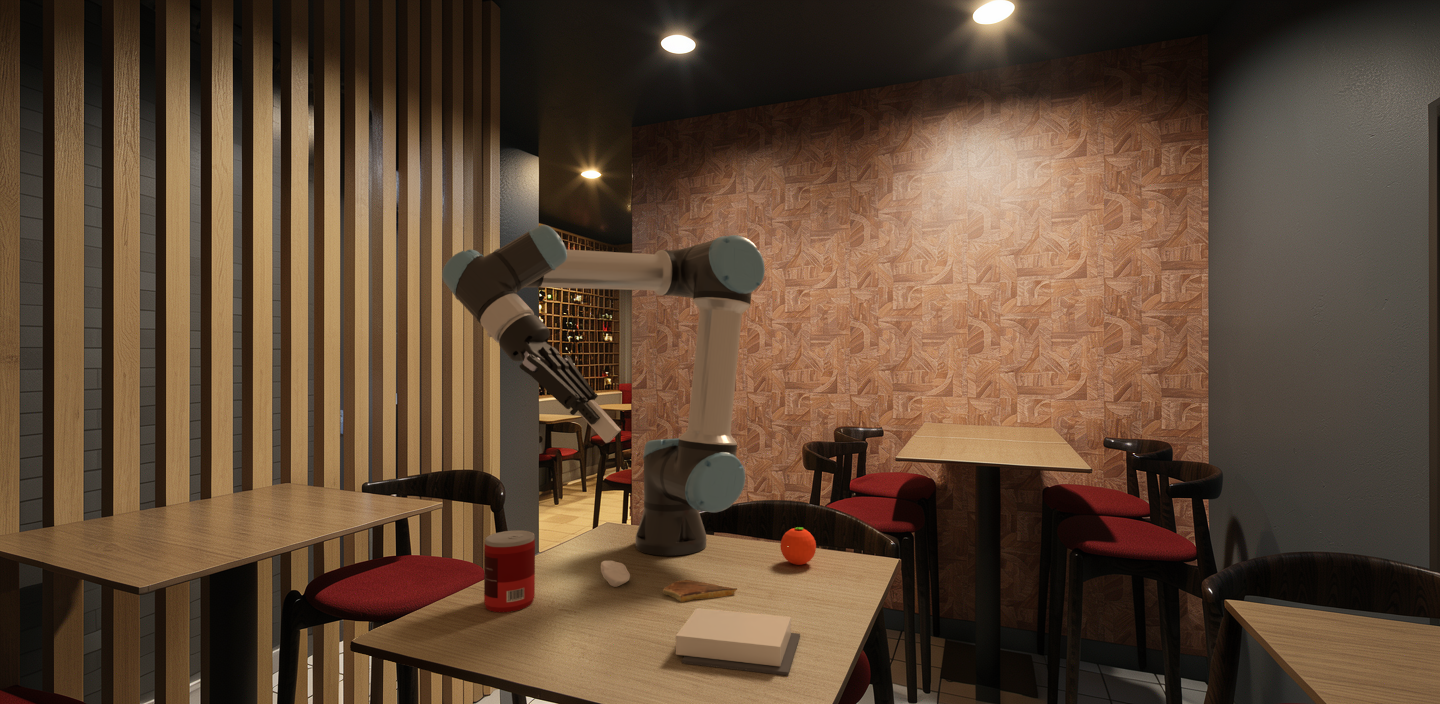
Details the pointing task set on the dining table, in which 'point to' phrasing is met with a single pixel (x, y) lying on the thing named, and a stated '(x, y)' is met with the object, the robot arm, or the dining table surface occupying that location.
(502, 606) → the canned food
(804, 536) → the clementine
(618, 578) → the dumpling
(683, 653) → the glazed tile
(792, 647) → the rubber mat
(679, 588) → the shard
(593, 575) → the dining table surface
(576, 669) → the dining table surface
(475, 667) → the dining table surface
